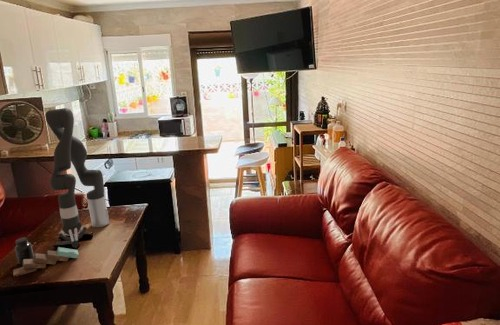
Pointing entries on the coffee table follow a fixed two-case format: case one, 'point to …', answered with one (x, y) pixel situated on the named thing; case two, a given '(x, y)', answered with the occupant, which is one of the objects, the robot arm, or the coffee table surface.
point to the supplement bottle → (23, 250)
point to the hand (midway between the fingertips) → (75, 246)
